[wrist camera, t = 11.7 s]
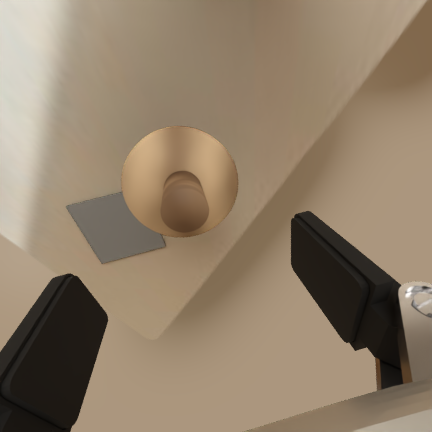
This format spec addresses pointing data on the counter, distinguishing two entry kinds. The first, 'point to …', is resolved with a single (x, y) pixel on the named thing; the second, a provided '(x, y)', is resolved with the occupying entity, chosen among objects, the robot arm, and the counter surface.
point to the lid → (179, 181)
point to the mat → (113, 228)
